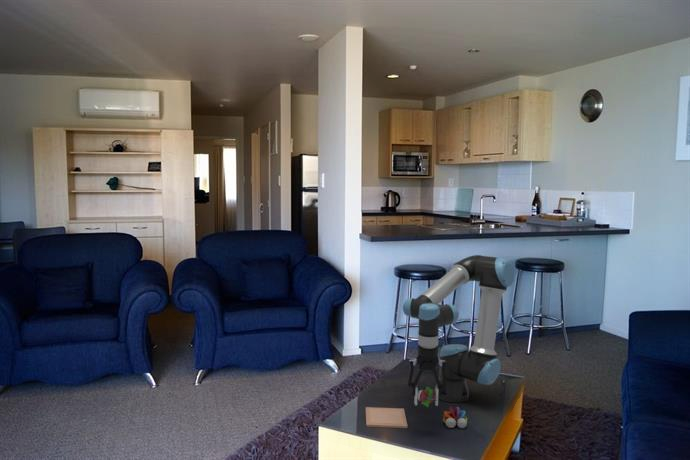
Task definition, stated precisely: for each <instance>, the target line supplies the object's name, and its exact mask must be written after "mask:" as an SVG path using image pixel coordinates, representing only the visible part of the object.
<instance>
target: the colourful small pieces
mask: <svg viewBox="0 0 690 460" xmlns="http://www.w3.org/2000/svg"><path fill="white" fill-rule="evenodd" d="M449 410H450V411H447V410H445V411H443V418H442V422H443V423H445V425H446V427H448V428H450V429H453V428H455V426H457V428H460V429H465V428H466V427H467V426H468V418H467V416H466V414H467V413H466V411H465V410H462V409H460V407H459V406H456V407H455V409H453V407H451V406H450V407H449Z"/></svg>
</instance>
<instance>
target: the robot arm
mask: <svg viewBox="0 0 690 460" xmlns="http://www.w3.org/2000/svg"><path fill="white" fill-rule="evenodd" d="M514 280H515V269H514V266H513V263H512V262H511V261H510V260H509V259H505V258H502V257H495V256H489V255H487V256H486V255H481V254H474V255H470V256H467V257H465V258H463V259H461V260H459V261H457V262H456V263H455V264H453V265H452V266H451V267H450V269H449V271H448V272H447V273H446V274H444V275H443V276H442V277H440V279H438V280H437V281H436V282H435V283H433V284H432V285H431V286H430V287H428V288H427V289H425V291H424V292H422V293H421V294H420V295H418V296H417V297H416V298H414V297H412V298H411V297H408V298H406V299H405V300H404V302H403V305H402V311H403V312H402V313H404V315H405V316H407V317H410V318H412V319H416V320H418V333H417V334H418V336H417V344H418V345H417V356H416V358H414V359H412V358H410V359H408V361H409V368H408V369H409V370H408V375H407V386H408V387H410V388H411V395H412V397H413V396H414V401H413V403H414V405H415V406H418V398H417V394H418V391H419V390H418V389H419V388H418V383H419V380H420V378H421V376H422V373H423V372H424V371H432V374H433V376H434V377H433V378H434V379H435V382H436V384H435V387H434V393H435V396H434V399H435V400H436V399H437V400H436V401H435V400H434V405H435V406H437V407H438V406H439V400H441V401H444V402H446V403H447V402H448V403H464V402H466V401H468V400H469V398H470V397H469V396H470V392H469V388H468V384H467V380H469V381H472V382H475V383H478V384H481V385H486V386H490V385H492V384H493V383H495V381H496V380H497V379H498V378H499V375H500V372H501V368H502V364H501V361H500V360H499V359H498V358H497V356H498V353H497V351H495V344H496V338H497V337H496V336H497V332H498V325H499V319H500V318H499V317H500V312H501V311H500V310H501V304H502V299H503V298H502V297H503V294H504V293H505V292H507V290H508V288H509V287H511V286H512V285H513V283H514ZM469 282H478V287H479V288H480V290H481V294H480V300H479V301H480V302H479V305H478V307H479V308H478V315H477V320H476V321H477V322H476V326H475V334H474V339H473V341H474V342H473V345H472V346H471V347H469V349H468V346H467V345H465V344H462V343H461V344H459V343H456V344H455V343H452V344H445V345H443V346H442V347H441V348H440V353H439V347H438V345H439V331H440V330H439V329H440V328H442V327H446V326H448V325H452V324H453V323H456V322H457V320H458V319H459V313H460V312H459V310H458V308H457V306H456V305H454V304H452V303H445V304H440V303H442V302H443V301H444V300H445V299H446V298H447V297H448V296H450V295H451V294H452V293H453V292H455V290H456V289H458V288H459V287H460V286H461V285H466V284H467V283H469ZM439 354H440V355H439ZM416 364H417V365H418V366H419V367H418V369H417V371H416V373H415V376H414V377H413V375H414V369H415V366H416ZM438 364H439V375H438V373H437V370H436V366H437V365H438Z"/></svg>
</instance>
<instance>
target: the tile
mask: <svg viewBox="0 0 690 460" xmlns="http://www.w3.org/2000/svg"><path fill="white" fill-rule="evenodd" d="M365 423H366V427H368V428H369V427H370V428H371V427H372V428H374V427H375V428H391V429H392V428H396V429H397V428H398V429H408V427H409V426H408V423H407V418H406V413H405V408H402V407H401V408H395V407H372V406H371V407H370V406H368V407H367V406H365Z"/></svg>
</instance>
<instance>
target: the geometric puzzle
mask: <svg viewBox="0 0 690 460" xmlns="http://www.w3.org/2000/svg"><path fill="white" fill-rule="evenodd" d="M417 400H418V402H420V404H421V405H423V406H425V407H427V408H429V407H430V405H433V403H434V402H435V401H436V400H437V399H436V400H435V389H433V388H431V387H428V386H426V387H425V389H420V390H418V394H417Z"/></svg>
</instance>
